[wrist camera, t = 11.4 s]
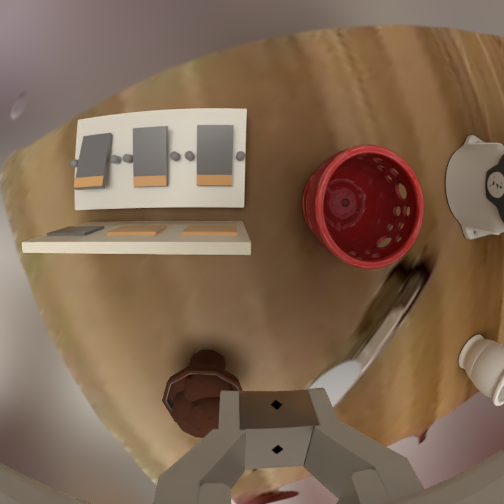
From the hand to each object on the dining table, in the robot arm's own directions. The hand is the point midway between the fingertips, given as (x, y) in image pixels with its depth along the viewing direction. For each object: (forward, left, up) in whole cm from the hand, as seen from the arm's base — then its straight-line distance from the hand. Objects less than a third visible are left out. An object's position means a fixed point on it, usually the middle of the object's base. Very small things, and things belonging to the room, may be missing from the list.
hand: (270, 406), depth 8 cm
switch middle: (+10, -10, -27) cm, 31 cm away
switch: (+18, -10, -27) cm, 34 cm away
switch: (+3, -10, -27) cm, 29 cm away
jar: (-51, +24, -33) cm, 65 cm away
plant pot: (-14, -5, -33) cm, 36 cm away
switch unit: (+10, -8, -32) cm, 35 cm away
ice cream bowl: (+4, +20, -33) cm, 38 cm away
